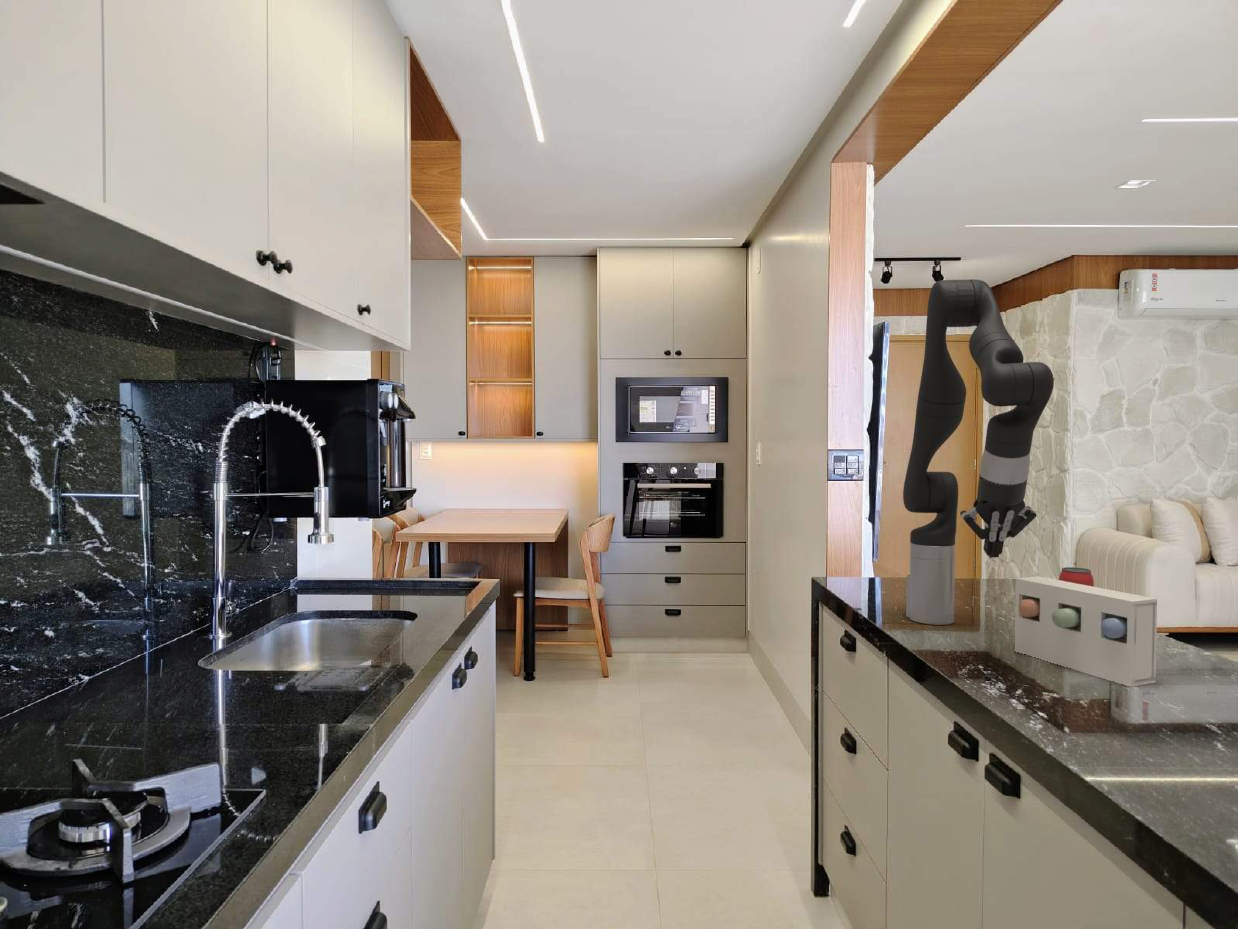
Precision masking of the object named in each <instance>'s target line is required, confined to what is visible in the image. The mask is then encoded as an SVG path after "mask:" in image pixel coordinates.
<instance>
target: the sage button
mask: <svg viewBox="0 0 1238 929" xmlns="http://www.w3.org/2000/svg"><path fill="white" fill-rule="evenodd" d="M1052 620H1053V622H1054V624H1055V625H1056V626H1058V627H1060V628H1065V627H1073V626H1079V625H1081V611H1080V610H1079V609H1077V608H1065V609H1057V610H1055V611H1054V612H1053V614H1052Z"/></svg>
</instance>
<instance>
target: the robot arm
mask: <svg viewBox="0 0 1238 929" xmlns="http://www.w3.org/2000/svg"><path fill="white" fill-rule="evenodd" d="M926 311H927V312H926V326H925V327H926V329H925V343H924V357H923V363H922V364H923V365H922V370H921V376H920V383H919V389H918V394H917V402H916V410H915V422H914V429H913V430H914V431H913V436H912V445H911V449H910V455H909V459H908V463H907V468H906V473H905V478H904V483H903V488H902V489H903V490H902V499H903V501H902V502H903V506H904V507H905V509H906V511H908V512H910V513H915V514H916V513H917V514H918V513H919V514H936V516H935V518H934V519H933V520H931V521H930V522H928V523H926V524H925V525H922V526H919V527H915V528H914V529H912V530H911V531H910V536H909V539H910V542H909V543H910V544H909V546H910V547H909V548H910V549H909V550H910V553H909V554H910V555H909V559H910V560H909V574H908V575H906V591H905V592H906V593H905V594H906V595H905V596H906V599H905V600H906V601H905V602H906V604H905V605H906V606H905V607H906V611H905V616H906V617H907V618H909V620H911V621H913V622H916V623H918V624H919V623H921V624H925V625H936V626H937V625H939V626H941V625H951V624H953V623H955V586H956V584H955V581H956V580H955V579H956V578H955V577H956V575H955V574H956V572H955V570H956V535H957V518H958V506H959V505H958V504H959V484H958V479H957V476H956V475H955V474H954V473H953V472H952V471H951V472H950V471H928V468H929V466H930V463H931V462H932V459H933V457H934V456H935V454H936V453H937V451H938V450H939V449H940V448H941V447H942V446H943V445H944V444H945V443H946V442H947V440H948V439H950V438H951V436H952V435H953V434H954V433H955V432H956V430H958V428H959V426H960V425H961V422H962V420H963V416H964V411H965V406H966V404H965V403H966V398H967V388H966V384H965V382H964V379H963V377H962V375H961V373H960V372H959V370H958V368H957V367H956V365H955V363H954V360H953V359H952V357H951V354H950V352H949V349H948V344H947V329H948V328H970V327H975V329H974V330H973V332H972V334H971V335H970V338H969V340H968V341H969V342H968V349H969V354H970V356H971V357H972V360H973V361H974V363H975V364H976V367H977V368H978V369H979V372H980V379H981V380H980V390H981V391H980V392H981V396H982V398H983V399H984V401H985V402H987V404H989V405H991V406H994V407H999V408H1000V407H1013V409H1011V410H1008V411H1006V412H1005V411H1004V412H1001V413H999V414H996V415H993V416H992V417H991V418H990V419H989V420H988V423H987V426H986V428H987V429H986V435H985V442H984V443H985V444H984V448H983V453H982V456H981V461H980V462H981V463H980V470H979V477H978V482H977V492H976V493H977V494H976V496H977V497H976V499H975V500H974V502H973V505H972V506H973V507H972V508H970V509H968V510H961V511H960V514H959V515H960V516H961V518H962V519H963V521H964V522H965V523H966V525H967V526H968V527H969V528H970V529H971V531H972V532H973V533H975V535H976V536H977V537H978V538H979V539H980V540H984V543H983V551H984V553H985V554H986V556H988V557H989V559H992V558H999V557H1000V555H1002V553H1003V549H1004V543H1005V542H1004V541H1005V540H1006V539H1007V538H1015V537H1017V536H1018V535H1019V534H1020V533H1021V532H1022V531H1023V530H1024V529H1025V528H1026V527H1027V526H1028V525H1029V524H1031V522H1032V521H1033V520H1035V519H1036V518H1037V517H1038V516H1037V513H1036V512H1035V511H1034V509H1032V508H1031V507H1030V506H1029V505H1027V506H1026V502H1025V500H1024V499H1025V497H1026V493H1027V485H1028V477H1029V473H1030V466H1031V448H1032V443H1033V442H1032V441H1033V437H1034V431H1035V429H1036V426H1037V424H1038V422H1039V420H1040V418H1041V415H1042V414H1043V413H1044V410H1045V409H1046V407H1047V404H1048V402H1050V399H1051V396H1052V393H1053V390H1054V386H1055V384H1054V383H1055V379H1054V374H1053V371H1052V370H1051V367H1049V366H1048V365H1047V364H1045V363H1044V362H1042V361H1025V362H1024V355H1023V351H1022V350H1021V348H1020V347H1019V346H1018V344H1017V343H1016V342H1015V340H1014V338H1013V337H1012V336H1011V334H1010V333H1009V332H1008V330H1007V328H1006V327H1005V324H1004V321H1003V318H1002V315H1001V312H1000V308H999V306H998V303H997V300H996V298H995V295H994V292H993V290H992V288H991V287H990V286H989V284H988V283H987V282H986V281H984V280H981V279H944V280H943V279H942V280H937V281H936V282H935V283H933V285H932V287H931V289H930V291H929V296H928V301H927V310H926ZM977 514H978V515H979V517H980V518H981V520H983V524H984V526H983V527H984V528H982V527H981V526H980V525H979V524H978V522H977V521H978V517H977Z"/></svg>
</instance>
